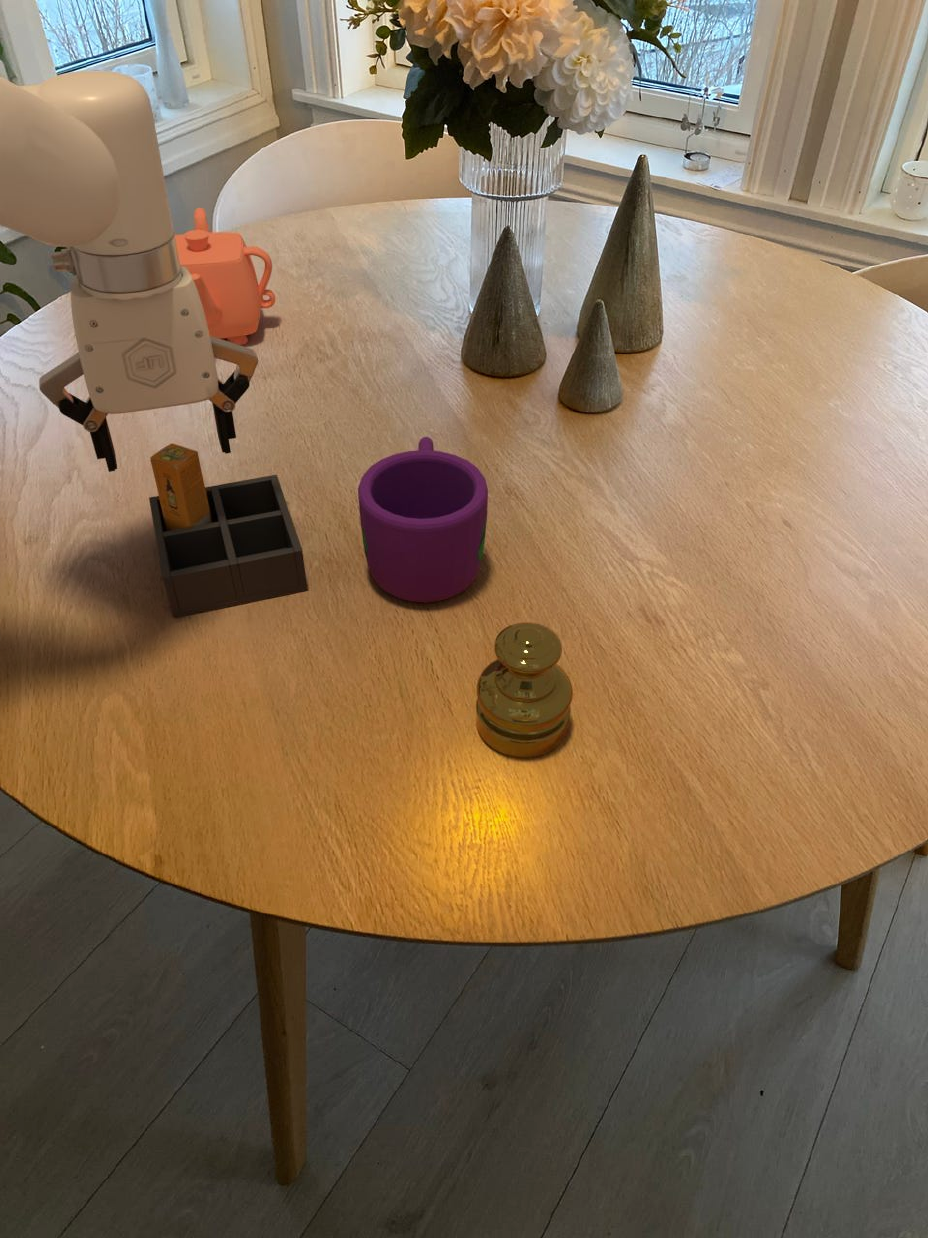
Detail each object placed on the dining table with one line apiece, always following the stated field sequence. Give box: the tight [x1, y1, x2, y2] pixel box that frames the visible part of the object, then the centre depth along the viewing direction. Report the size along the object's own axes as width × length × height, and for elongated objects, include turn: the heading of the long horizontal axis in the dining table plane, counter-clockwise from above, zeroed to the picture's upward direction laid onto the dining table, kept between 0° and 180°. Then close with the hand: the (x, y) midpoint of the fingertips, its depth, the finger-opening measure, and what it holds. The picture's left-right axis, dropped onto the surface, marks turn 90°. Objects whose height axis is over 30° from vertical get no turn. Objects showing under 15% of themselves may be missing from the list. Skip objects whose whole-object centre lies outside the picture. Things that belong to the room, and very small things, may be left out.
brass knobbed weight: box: [475, 621, 574, 758], centre depth 73 cm, size 7×7×10 cm
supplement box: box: [149, 443, 212, 531], centre depth 88 cm, size 3×3×10 cm
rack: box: [148, 474, 308, 619], centre depth 89 cm, size 12×12×5 cm
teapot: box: [174, 207, 276, 346], centre depth 119 cm, size 15×17×13 cm
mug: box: [357, 436, 489, 603], centre depth 89 cm, size 17×11×10 cm, turn 0°
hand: (169, 453), depth 84 cm, fingers open, 9 cm apart
